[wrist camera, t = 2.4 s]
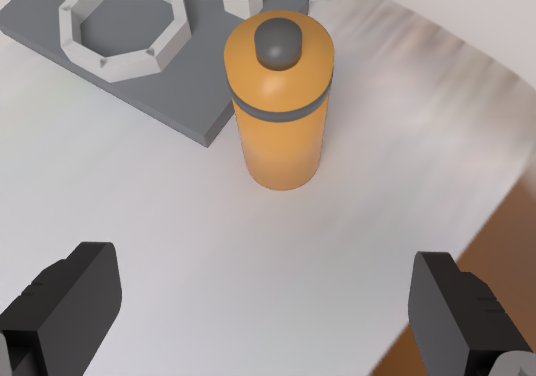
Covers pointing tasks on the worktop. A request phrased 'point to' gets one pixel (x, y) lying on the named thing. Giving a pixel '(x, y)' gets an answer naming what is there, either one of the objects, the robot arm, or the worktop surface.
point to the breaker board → (138, 31)
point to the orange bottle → (280, 94)
